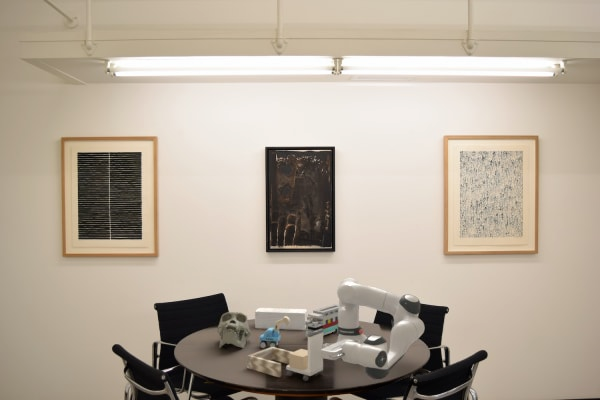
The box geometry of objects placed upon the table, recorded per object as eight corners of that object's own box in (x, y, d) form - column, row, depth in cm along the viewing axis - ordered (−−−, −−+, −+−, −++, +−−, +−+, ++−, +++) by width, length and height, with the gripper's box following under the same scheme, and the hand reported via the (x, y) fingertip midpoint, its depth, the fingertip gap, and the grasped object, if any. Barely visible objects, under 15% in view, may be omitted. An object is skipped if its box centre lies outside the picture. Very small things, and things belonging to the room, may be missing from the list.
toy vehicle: (304, 338, 284) (304, 312, 284) (334, 327, 308) (334, 304, 308) (315, 340, 279) (315, 315, 279) (344, 329, 303) (344, 306, 302)
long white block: (307, 325, 312) (307, 309, 312) (304, 330, 302) (304, 313, 302) (258, 324, 317) (258, 307, 317) (254, 328, 306) (255, 311, 306)
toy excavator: (287, 350, 261) (287, 319, 261) (258, 348, 265) (258, 317, 265) (291, 345, 270) (291, 315, 270) (262, 344, 273) (262, 313, 273)
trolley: (324, 374, 225) (324, 328, 225) (309, 382, 216) (309, 334, 215) (300, 368, 234) (300, 323, 234) (284, 375, 224) (284, 328, 224)
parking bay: (302, 366, 237) (302, 354, 237) (278, 377, 222) (278, 364, 222) (271, 358, 249) (271, 346, 249) (247, 367, 235) (247, 355, 235)
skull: (217, 354, 278) (210, 340, 254) (223, 318, 289) (216, 302, 265) (249, 356, 277) (245, 343, 253) (254, 320, 288) (250, 305, 264)
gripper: (336, 365, 201) (310, 358, 210) (361, 353, 217) (335, 347, 226) (336, 350, 201) (310, 344, 210) (361, 339, 217) (335, 333, 226)
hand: (323, 345), depth 218 cm, fingers closed
